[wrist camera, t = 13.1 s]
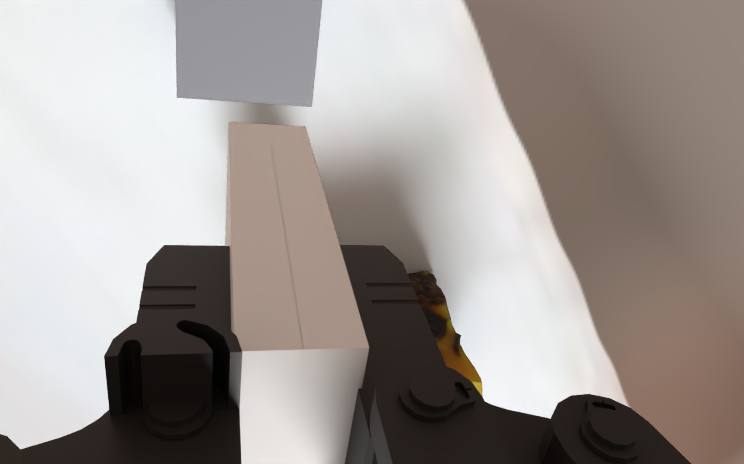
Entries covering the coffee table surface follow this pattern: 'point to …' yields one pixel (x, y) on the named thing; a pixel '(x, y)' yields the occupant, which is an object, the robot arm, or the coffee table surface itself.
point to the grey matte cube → (247, 50)
